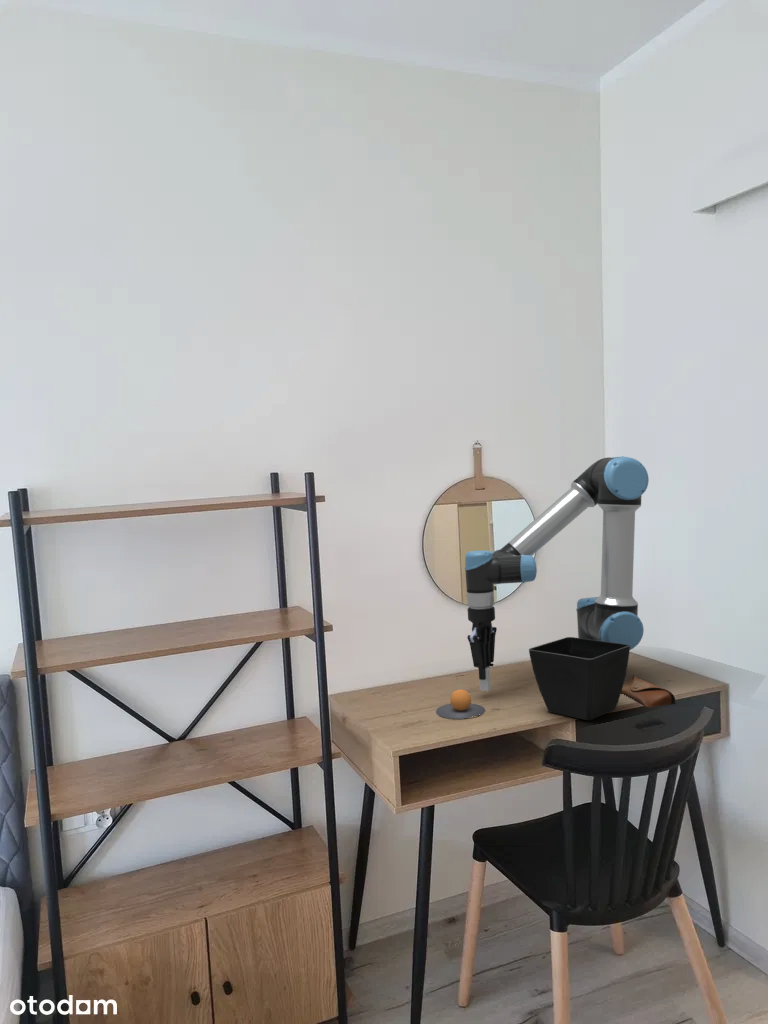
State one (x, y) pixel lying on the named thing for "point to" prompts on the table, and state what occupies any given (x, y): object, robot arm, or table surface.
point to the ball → (460, 700)
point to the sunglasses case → (647, 693)
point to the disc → (452, 713)
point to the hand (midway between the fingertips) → (485, 689)
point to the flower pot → (580, 675)
